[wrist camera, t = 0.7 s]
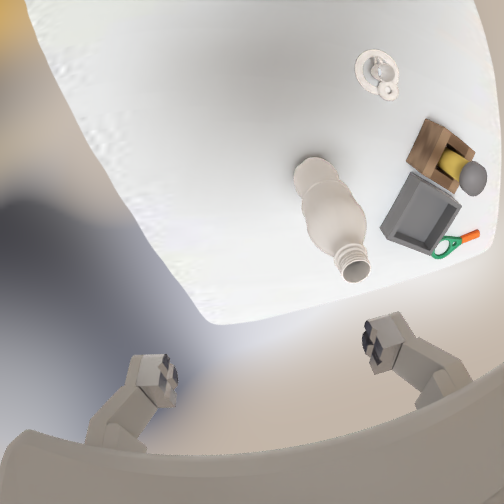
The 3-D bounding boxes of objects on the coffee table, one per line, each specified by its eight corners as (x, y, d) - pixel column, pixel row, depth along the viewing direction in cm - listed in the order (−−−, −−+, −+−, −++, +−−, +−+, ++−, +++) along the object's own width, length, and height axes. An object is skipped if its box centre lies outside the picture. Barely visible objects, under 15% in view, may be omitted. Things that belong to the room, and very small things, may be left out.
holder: (425, 118, 37) (444, 126, 32) (457, 141, 38) (475, 152, 33) (405, 161, 42) (421, 174, 37) (438, 180, 44) (454, 194, 39)
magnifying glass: (429, 259, 56) (432, 264, 55) (429, 240, 53) (432, 244, 51) (475, 240, 52) (478, 244, 51) (477, 221, 49) (480, 224, 48)
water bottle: (284, 163, 44) (309, 258, 24) (324, 146, 42) (385, 229, 22) (301, 198, 48) (331, 307, 28) (338, 183, 46) (394, 283, 26)
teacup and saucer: (397, 101, 36) (409, 105, 33) (354, 97, 37) (363, 100, 33) (397, 53, 31) (408, 53, 28) (352, 47, 31) (361, 45, 28)
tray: (410, 172, 43) (420, 180, 40) (452, 196, 45) (462, 206, 42) (379, 227, 51) (387, 239, 48) (422, 244, 53) (430, 255, 50)
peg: (429, 132, 38) (474, 159, 27) (446, 145, 39) (491, 174, 28) (418, 156, 41) (459, 188, 30) (436, 167, 42) (477, 201, 31)
